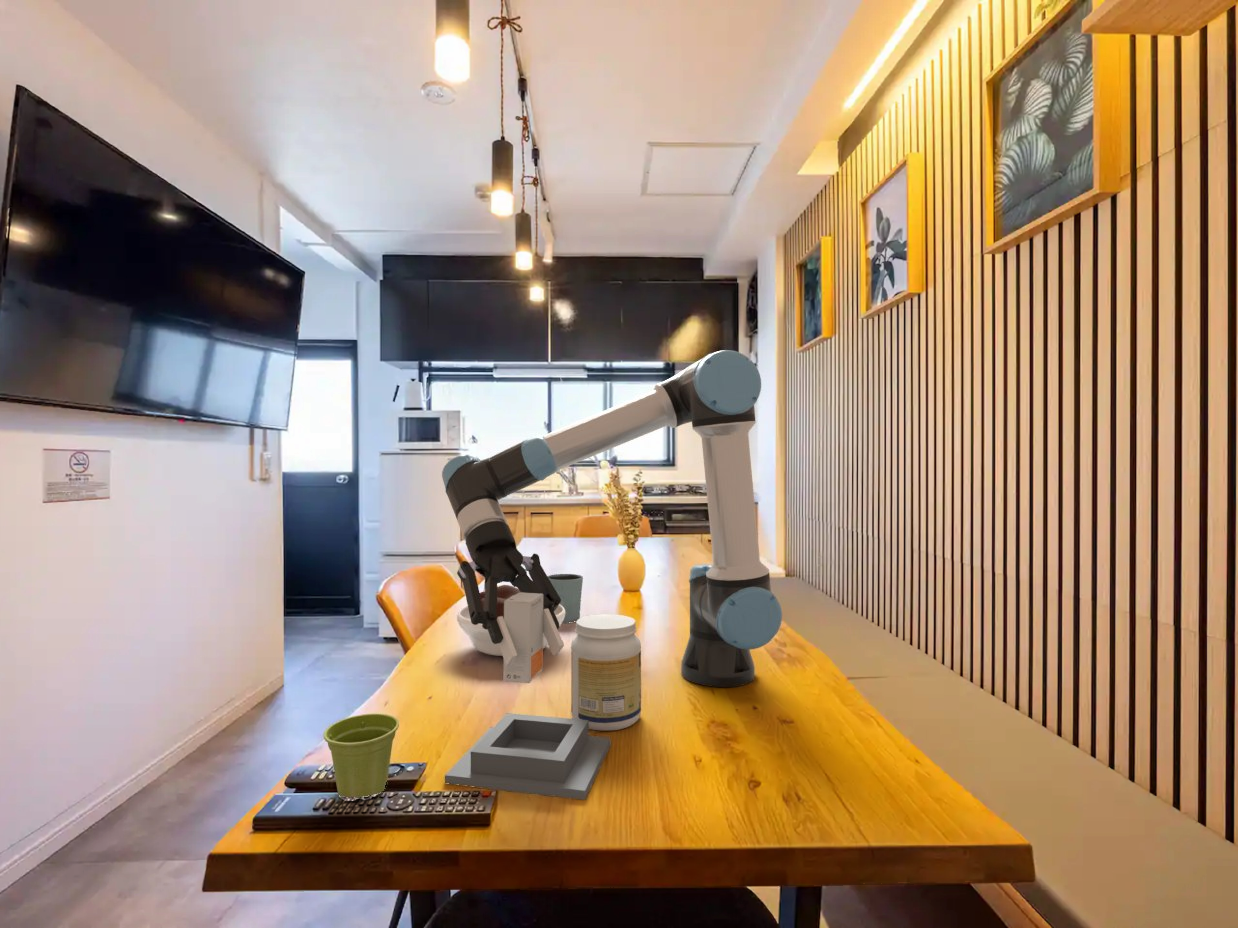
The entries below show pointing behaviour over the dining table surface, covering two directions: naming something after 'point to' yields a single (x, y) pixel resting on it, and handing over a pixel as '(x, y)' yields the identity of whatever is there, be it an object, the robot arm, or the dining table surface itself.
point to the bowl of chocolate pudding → (481, 635)
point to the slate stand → (533, 757)
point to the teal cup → (568, 594)
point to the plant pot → (361, 752)
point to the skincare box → (524, 636)
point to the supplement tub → (606, 672)
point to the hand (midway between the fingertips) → (535, 655)
